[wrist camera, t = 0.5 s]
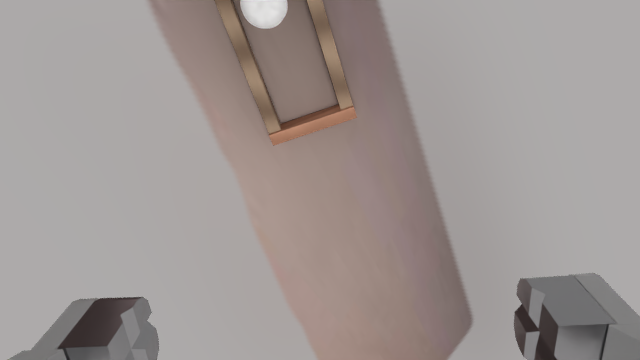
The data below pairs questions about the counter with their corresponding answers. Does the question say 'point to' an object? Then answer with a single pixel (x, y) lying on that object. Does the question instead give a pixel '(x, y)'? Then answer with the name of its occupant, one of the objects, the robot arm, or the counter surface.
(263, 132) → the counter surface
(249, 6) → the milkshake
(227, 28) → the rail guide
